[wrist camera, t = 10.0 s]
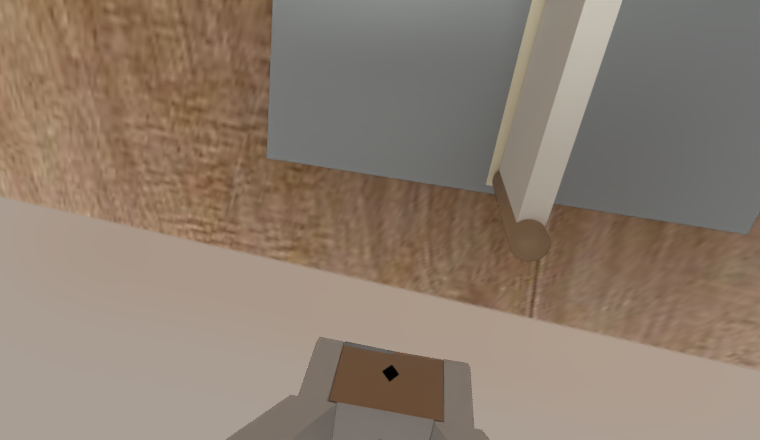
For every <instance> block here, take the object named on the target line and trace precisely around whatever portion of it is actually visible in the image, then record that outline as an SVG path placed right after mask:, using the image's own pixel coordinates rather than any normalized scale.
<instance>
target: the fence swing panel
mask: <svg viewBox="0 0 760 440" xmlns="http://www.w3.org/2000/svg"><path fill="white" fill-rule="evenodd" d="M621 3H622V0H546V3H545V6H544V10H543V14H542V17H541V21H540V24H539V28H538V32H537V35H536V39H535V42H534V46H533V50H532V53H531V57H530V61H529V64H528V68H527V71H526V75H525V79H524V82H523V86H522V89H521V93H520V97H519V100H518V104H517V108H516V111H515V115H514V118H513V122H512V126H511V129H510V133H509V136H508V140H507V144H506V147H505V151H504V154H503V158H502V162H501V165H500V169H499V171H497V172H496V173H495V175H494V177H493V180H492V184H493V188H494V192H495V195H496V199H497V202H498V206H499V210H500V213H501V217H502V220H503V224H504V227H505V231H506V235H507V238H508V242H509V245H510V249H511V252H512V253H513V255H514V256H515V257H516V258H518V259H519V260H522V261H527V262H530V261H536V260H538V259H540V258H542V257H543V256H545V255H546V254H547V252H548V251H549V249H550V244H551V241H550V238H549V235H548V233H547V230H546V228H545V227H546V224H547V221H548V218H549V215H550V213H551V210H552V207H553V204H554V201H555V198H556V195H557V192H558V189H559V186H560V183H561V180H562V177H563V174H564V171H565V168H566V165H567V162H568V159H569V156H570V154H571V151H572V148H573V145H574V142H575V139H576V136H577V133H578V130H579V127H580V124H581V121H582V118H583V115H584V112H585V109H586V106H587V103H588V100H589V97H590V95H591V92H592V89H593V86H594V83H595V80H596V77H597V74H598V71H599V68H600V65H601V62H602V59H603V56H604V53H605V50H606V47H607V44H608V41H609V38H610V36H611V33H612V30H613V27H614V24H615V21H616V18H617V15H618V12H619V9H620V6H621Z"/></svg>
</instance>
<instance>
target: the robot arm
mask: <svg viewBox="0 0 760 440" xmlns="http://www.w3.org/2000/svg"><path fill="white" fill-rule="evenodd" d="M226 440H489V438H488V437H487V436H486V434H485V433H484V432H483V431H482V430H480V429H475V428H474V418H473V404H472V388H471V373H470V366H469V364H468V363H464V362H458V361H451V360H445V359H443V360H441V359H435V358H429V357H423V356H418V355H412V354H406V353H400V352H394V351H390V350H385V349H380V348H375V347H370V346H365V345H360V344H355V343H350V342H345V343H344V342H343V341H338V340H333V339H328V338H323V337H320V338H319V339H318V341H317V342H316V345H315V348H314V351H313V354H312V357H311V360H310V362H309V366H308V368H307V371H306V374H305V377H304V380H303V383H302V386H301V389H300V392H299V395H298V396H295V395H290V396H288V397H287V398H285V399H284V400H283V401H281V402H279V403H278V404H276V405H275V406H274V407H272V408H271V409H269V410H268V411H266V412H265V413H263V414H262V415H261V416H259V417H258V418H256V419H255V420H253V421H252V422H250V423H249V424H248V425H246V426H245V427H243V428H242V429H240V430H239V431H237V432H236V433H234V434H233V435H232V436H230V437H229V438H227V439H226Z"/></svg>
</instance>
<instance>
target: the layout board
mask: <svg viewBox="0 0 760 440" xmlns="http://www.w3.org/2000/svg"><path fill="white" fill-rule="evenodd" d="M545 3H546V0H273V10H272V35H271V61H270V86H269V112H268V138H267V158H269V159H275V160H281V161H288V162H294V163H300V164H307V165H313V166H319V167H325V168H332V169H338V170H344V171H351V172H357V173H363V174H369V175H376V176H382V177H388V178H395V179H401V180H407V181H414V182H420V183H426V184H432V185H439V186H445V187H451V188H458V189H464V190H470V191H476V192H483V193H489V194H495V192H494V188H493V184H492V180H493V177H494V175H495V173H496V172H497V171H499V169H500V165H501V162H502V158H503V154H504V151H505V147H506V144H507V140H508V136H509V133H510V129H511V126H512V122H513V118H514V115H515V111H516V108H517V104H518V100H519V97H520V93H521V89H522V86H523V82H524V79H525V75H526V71H527V68H528V64H529V61H530V57H531V53H532V50H533V46H534V42H535V39H536V35H537V32H538V28H539V24H540V21H541V17H542V14H543V10H544V6H545ZM554 204H558V205H565V206H571V207H577V208H583V209H590V210H596V211H602V212H609V213H615V214H621V215H628V216H634V217H640V218H646V219H653V220H659V221H665V222H672V223H678V224H684V225H690V226H697V227H703V228H709V229H716V230H722V231H728V232H735V233H741V234H747V235H748V233H749V231H750V229H751V227H752V226H753V224H754V222H755V220H756V218H757V216H758V214H759V212H760V0H622V3H621V6H620V9H619V12H618V15H617V18H616V21H615V24H614V27H613V30H612V33H611V36H610V38H609V41H608V44H607V47H606V50H605V53H604V56H603V59H602V62H601V65H600V68H599V71H598V74H597V77H596V80H595V83H594V86H593V89H592V92H591V95H590V97H589V100H588V103H587V106H586V109H585V112H584V115H583V118H582V121H581V124H580V127H579V130H578V133H577V136H576V139H575V142H574V145H573V148H572V151H571V154H570V156H569V159H568V162H567V165H566V168H565V171H564V174H563V177H562V180H561V183H560V186H559V189H558V192H557V195H556V198H555V201H554Z"/></svg>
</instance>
